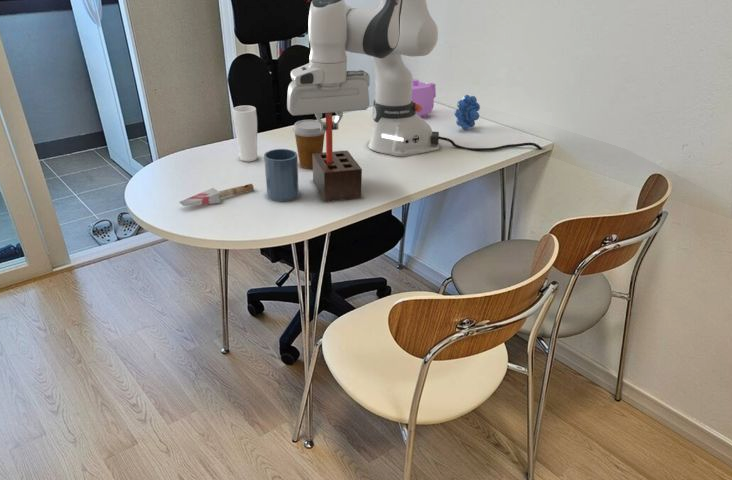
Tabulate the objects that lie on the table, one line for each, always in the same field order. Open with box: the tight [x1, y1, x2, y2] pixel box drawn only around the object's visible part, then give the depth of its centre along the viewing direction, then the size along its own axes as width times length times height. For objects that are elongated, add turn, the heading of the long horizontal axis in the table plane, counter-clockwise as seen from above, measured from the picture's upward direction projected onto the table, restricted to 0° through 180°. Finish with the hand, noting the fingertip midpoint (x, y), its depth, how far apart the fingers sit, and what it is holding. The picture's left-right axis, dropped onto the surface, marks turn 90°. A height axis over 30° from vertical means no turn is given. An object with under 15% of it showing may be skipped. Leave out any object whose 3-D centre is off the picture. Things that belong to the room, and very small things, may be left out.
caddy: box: [312, 150, 363, 203], centre depth 147 cm, size 10×14×8 cm
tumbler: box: [263, 148, 300, 203], centre depth 143 cm, size 8×8×11 cm
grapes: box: [454, 94, 481, 131], centre depth 188 cm, size 12×7×12 cm, turn 126°
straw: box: [325, 113, 334, 164], centre depth 142 cm, size 2×2×16 cm
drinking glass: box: [232, 105, 259, 162], centre depth 163 cm, size 7×7×15 cm
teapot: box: [411, 78, 437, 118], centre depth 201 cm, size 20×12×13 cm, turn 122°
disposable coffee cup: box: [292, 119, 326, 170], centre depth 160 cm, size 10×10×12 cm
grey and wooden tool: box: [178, 183, 255, 207], centre depth 142 cm, size 4×3×20 cm
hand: (328, 129), depth 140 cm, fingers closed on straw, 1 cm apart
